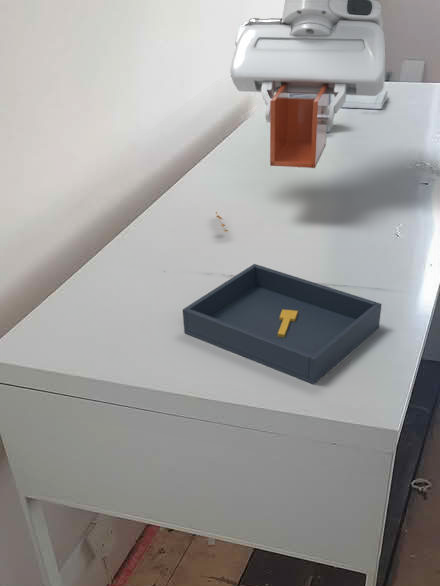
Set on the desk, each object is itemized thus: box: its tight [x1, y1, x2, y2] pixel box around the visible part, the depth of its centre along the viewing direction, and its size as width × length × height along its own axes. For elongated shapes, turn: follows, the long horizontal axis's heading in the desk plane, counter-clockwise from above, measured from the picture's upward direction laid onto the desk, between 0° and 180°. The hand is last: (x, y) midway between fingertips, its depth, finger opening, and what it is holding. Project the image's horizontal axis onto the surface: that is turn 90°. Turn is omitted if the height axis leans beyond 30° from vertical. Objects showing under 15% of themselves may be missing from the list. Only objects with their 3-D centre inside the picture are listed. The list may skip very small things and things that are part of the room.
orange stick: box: [215, 211, 229, 232], centre depth 101 cm, size 8×1×1 cm, turn 10°
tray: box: [182, 263, 382, 385], centre depth 79 cm, size 17×13×3 cm
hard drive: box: [331, 90, 389, 110], centre depth 143 cm, size 2×8×12 cm
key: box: [278, 310, 298, 337], centre depth 80 cm, size 5×2×1 cm, turn 165°
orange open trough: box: [269, 83, 329, 169], centre depth 95 cm, size 9×6×8 cm, turn 165°
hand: (299, 121), depth 94 cm, fingers closed on orange open trough, 6 cm apart
